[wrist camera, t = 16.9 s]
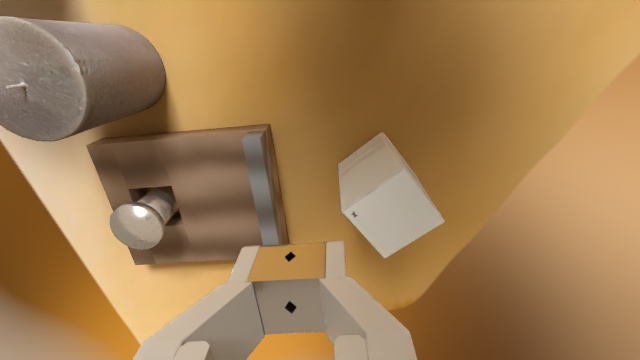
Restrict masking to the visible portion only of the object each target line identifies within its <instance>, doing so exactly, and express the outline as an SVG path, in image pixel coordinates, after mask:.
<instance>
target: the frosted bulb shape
mask: <svg viewBox="0 0 640 360" xmlns="http://www.w3.org/2000/svg"><path fill="white" fill-rule="evenodd" d="M178 210H179V208H178V205H177V202H176V198H175V195H174V192H173V189H172V186H163V187H154V188H153V189H151V190H150V191H149V192H148V193H147V194H145V195H144V196H143V197H142V198H141V199H139V200H138V201H137V202H127V203H125V204H123V205H121V206H120V207H119V208H117V209H116V210H115V211H114V212H113V213H112V215H111V217H110V228H111V230H112V232H113V234H114V235H115V237H116V238H117V239H118V240H119V241H120V242H122V243H123V244H125V245H127V246H129V247H131V248H134V249H141V250H144V249H150V248H152V247H154V246H155V245H157V244H158V242H159V241H160V240H161V239H162V238H163V236H164V234H165V229H166V227H165V224H166V223H167V222H168V221H169V220H170V219H171V218H172V217H173V215H174V214H175V213H176V212H177V211H178Z"/></svg>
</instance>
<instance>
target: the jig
mask: <svg viewBox="0 0 640 360" xmlns="http://www.w3.org/2000/svg"><path fill="white" fill-rule="evenodd" d="M87 148H88V151H89V153H90V156H91V158H92V160H93V163H94V165H95V168H96V170H97V173H98V175H99V177H100V180H101V182H102V185H103V187H104V190H105V192H106V194H107V197H108V199H109V202H110V204H111V207H112V209H113V212H114V211H115V210H116V209H117V208H119V207H120V206H121V205H123V204H125V203H127V202H137V201H138V200H139V199H141V198H142V197H143V196H144V195H145V194H146V193H145V190H144V188H149V187H163V186H172V189H173V192H174V195H175V198H176V202H177V205H178V208H179V211H180V215H173V217H172V218H171V219H170V220H169V221H168V222H167V223H166V224H165V227H166V229H165V234H164V236H163V238H162V239H161V240H160V241H159V242H158V244H157V245H155V246H154V247H152V248H150V249H144V250H141V249H134V248H131V247H129V246H128V248H129V250H130V253H131V255H132V258H133V260H134V263H135V265H144V264H162V263H180V262H197V261H215V260H232V259H237V258H238V256H239V254H240V251H241V249H242V248H243V247H245V246H261V245H285V244H289V239H288V233H287V227H286V221H285V214H284V208H283V202H282V196H281V190H280V183H279V177H278V171H277V165H276V159H275V153H274V146H273V140H272V134H271V128H270V124H263V125H252V126H240V127H229V128H217V129H206V130H194V131H183V132H171V133H159V134H148V135H136V136H125V137H113V138H103V139H100V140H98V141H96V142H93V143H91V144H89V145H87Z"/></svg>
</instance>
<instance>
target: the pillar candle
mask: <svg viewBox="0 0 640 360" xmlns="http://www.w3.org/2000/svg"><path fill="white" fill-rule="evenodd" d="M164 87H165V70H164V66H163V63H162V60H161V58H160V56H159V54H158V52H157V51H156V49H155V48H154V46H153V45H152V44H151V43H150V42H149V41H148V40H147V39H146V38H145V37H144V36H142V35H141V34H139V33H137V32H136V31H133V30H131V29H128V28H126V27H123V26H118V25H109V24H94V23H84V22H69V21H54V20H40V19H27V18H16V17H8V16H4V17H3V16H0V125H1V126H3V127H4V128H6V129H7V130H9V131H10V132H12V133H15V134H17V135H19V136H21V137H25V138H28V139H32V140H36V141H57V140H61V139H64V138H67V137H70V136H73V135H76V134H78V133H81V132H84V131H86V130H89V129H92V128H94V127H97V126H100V125H103V124H105V123H108V122H112V121H115V120H117V119H120V118H123V117H125V116H128V115H131V114H134V113H136V112H139V111H142V110H144V109H147V108H149V107H151V106H152V105H153V104H155V103H156V102H157V101H158V100H159V98H160V97H161V95H162V93H163V90H164Z"/></svg>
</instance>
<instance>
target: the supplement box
mask: <svg viewBox="0 0 640 360" xmlns="http://www.w3.org/2000/svg"><path fill="white" fill-rule="evenodd" d="M338 171H339V186H340V201H341V212H342V213H343V214H344V215H345V216H346V217H347V218H348V219H349V221H350V222H351V223H352V224H353V225H354V226H355V227H356V228H357V229H358V230H359V231H360V232H361V233H362V234H363V235H364V237H365V238H366V239H367V240H368V241H369V242H370V243H371V244H372V245H373V247H374V248H375V249H376V250H377V251H378V252H379V253H380V254H381V255H382V256H383V257H384V258H387V257H389V256H390V255H392V254H393V253H395V252H397V251H398V250H400V249H402V248H403V247H405V246H406V245H408V244H410V243H411V242H413V241H415V240H416V239H418V238H420V237H421V236H423V235H425V234H426V233H428V232H429V231H431V230H433V229H434V228H436V227H438V226H439V225H441V224H443V223H444V222H445V220H444V219H443V217H442V215H441V214H440V212H439V211H438V209H437V208H436V206H435V205H434V203H433V202H432V200H431V199H430V197H429V195H428V194H427V192H426V191H425V189H424V187H423V186H422V184H421V182H420V181H419V179H418V177H417V176H416V174H415V173H414V171H413V170H412V169H411V168H410V166H409V165H408V164H407V162H406V161H405V160H404V158H403V157H402V156H401V154H400V153H399V152H398V150H397V149H396V148H395V147H394V145H393V144H392V143H391V141H390V140H389V139H388V138H387V136H386V135H385V134H384V133H383V132H381V133H379V134H378V135H377V136H375V137H374V138H372V139H371V140H370V141H368V142H367V143H366V144H364V145H363V146H362V147H360V148H359V149H358V150H356V151H355V152H354V153H352V154H351V155H350V156H348V157H347V158H346V159H344V160H343V161H342V162H340V163H339V164H338Z"/></svg>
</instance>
